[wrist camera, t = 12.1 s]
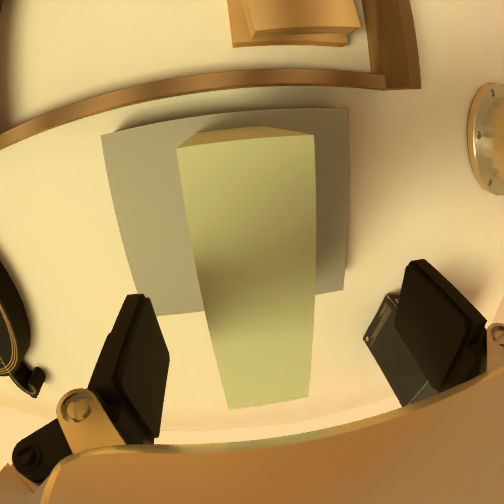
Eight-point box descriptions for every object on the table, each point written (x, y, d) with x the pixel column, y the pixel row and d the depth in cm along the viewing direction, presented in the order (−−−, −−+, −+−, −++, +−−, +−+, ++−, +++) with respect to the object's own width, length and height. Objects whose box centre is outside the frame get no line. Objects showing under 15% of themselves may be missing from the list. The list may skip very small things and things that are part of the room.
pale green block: (260, 125, 17) (313, 134, 8) (272, 291, 22) (308, 396, 13) (195, 132, 17) (176, 148, 8) (219, 298, 22) (228, 409, 13)
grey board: (333, 108, 19) (347, 108, 17) (332, 274, 25) (343, 289, 23) (112, 133, 18) (100, 135, 16) (150, 299, 24) (145, 317, 22)
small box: (358, 341, 30) (400, 414, 21) (384, 292, 27) (441, 362, 18) (421, 341, 32) (462, 398, 23) (445, 299, 30) (497, 353, 20)
